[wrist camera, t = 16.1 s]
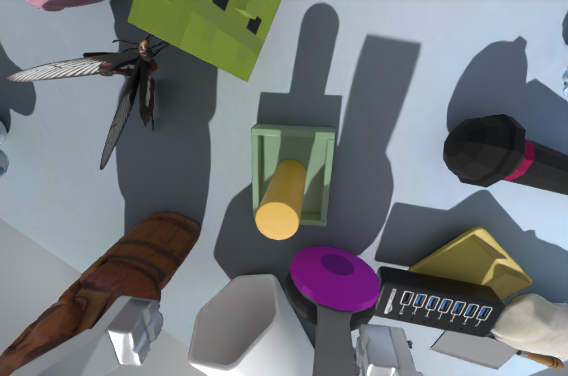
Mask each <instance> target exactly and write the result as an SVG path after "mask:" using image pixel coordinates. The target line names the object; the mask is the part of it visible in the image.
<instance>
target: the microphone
mask: <svg viewBox="0 0 568 376" xmlns="http://www.w3.org/2000/svg"><path fill="white" fill-rule="evenodd" d="M443 159H444V161H445V163H446V165H447V167H448V169H449V170H450V171H452V172H453V173H454V174H455V175H457V176H458V178H459V180H460V181H461V182H462V183H466V184H471V185H476V186H482V187H488V186H490V185H492V184H494V183H496V182H498V181H500V180H505V181H509V182H514V183H518V184H522V185H526V186H531V187H535V188H539V189H543V190H548V191H552V192H556V193H561V194H565V195H568V155H565V154H563V153H560V152H558V151H555V150H553V149H550V148H548V147H545V146H543V145H540V144H538V143H535V142H533V141H530V140H528V139H526V138H525V129H524V128H523V127H522V126H521V125H520V124H519V123H518V122H517V121H516V120H515V119H514V118H513V117H510V116H508V115H505V114H499V115H492V116H485V117H481V118H473V119H466V120H465V121H464V122H462V123H461V124H460V125H459V126H457V127H456V128H455V129H454V130H453V131H452V132H450V133H449V135H448V137H447V139H446V141H445V143H444V151H443Z"/></svg>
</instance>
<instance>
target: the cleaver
mask: <svg viewBox="0 0 568 376" xmlns="http://www.w3.org/2000/svg"><path fill="white" fill-rule="evenodd" d="M430 350H433V351H436V352H440V353H443V354H446V355H449V356H452V357H456V358H459V359H462V360H465V361H469V362H472V363H476V364H479V365H482V366H486V367H489V368H493V369H496V370H498V369H499V368H500V367H501V366H502V365H503V364H504V363H506V362H507V361H508V360H509V359H510V358H511V357H512V356H513V355H514V354H517V355H519V356H522V357H525V358H528V359H531V360H534V361H536V362H539V363H541V364H543V365H546V366H548V367H550V368H554V369H557V370H560V369H562V368H563V366H564V365H563V362H562V361H561V360H560V359H559V358H556V357H553V356H549V355H542V354H536V353H531V352H528V351H524V350H519V349H515V348H513V347H511V346H510V345H508V344H506V343H504V342H501V341H499V340H496V339H493V338H491V337H488V336H486V337H477V336H472V335H467V334H462V333H457V332H452V331H447V330H446V331H445V332H444V333H443V335H442V336H441V337H440V338H439V339H438V341H437V342H436V343H435V344H434V345H433V347H432V348H431V349H430Z"/></svg>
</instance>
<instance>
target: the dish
mask: <svg viewBox="0 0 568 376" xmlns="http://www.w3.org/2000/svg"><path fill="white" fill-rule="evenodd" d="M251 134H252V135H251V143H252V191H253V220H254V221H255V216H256V212H257V210H258V208H259V206H260V203H261V201H262V199H263V197H264V195H265V192H266V190H267V188H268V186H269V183H270V181H271V179H272V177H273V174H274V172H275V170H276V168H277V166H278V165H279V164H280V163H281V162H282V161H284V160H288V159H292V160H296V161H298V162H300V163H301V164H302V165H303V166H304V168H305V170H306V181H305V188H304V195H303V202H302V209H301V216H300V222H299V225H311V226H322V227H326V221H327V212H328V202H329V192H330V183H331V173H332V163H333V153H334V143H335V128H334V127H314V126H295V125H276V124H255V125H254V126H253V127H252V128H251Z"/></svg>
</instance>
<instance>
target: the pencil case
mask: <svg viewBox="0 0 568 376" xmlns="http://www.w3.org/2000/svg"><path fill="white" fill-rule="evenodd" d="M562 79H563V81H565V82H564V85H565V87H564V88H563V93H564V94H565V95H566V96H567V97H568V68H567V70H566V71H565V73H564V74H563V77H562Z"/></svg>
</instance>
